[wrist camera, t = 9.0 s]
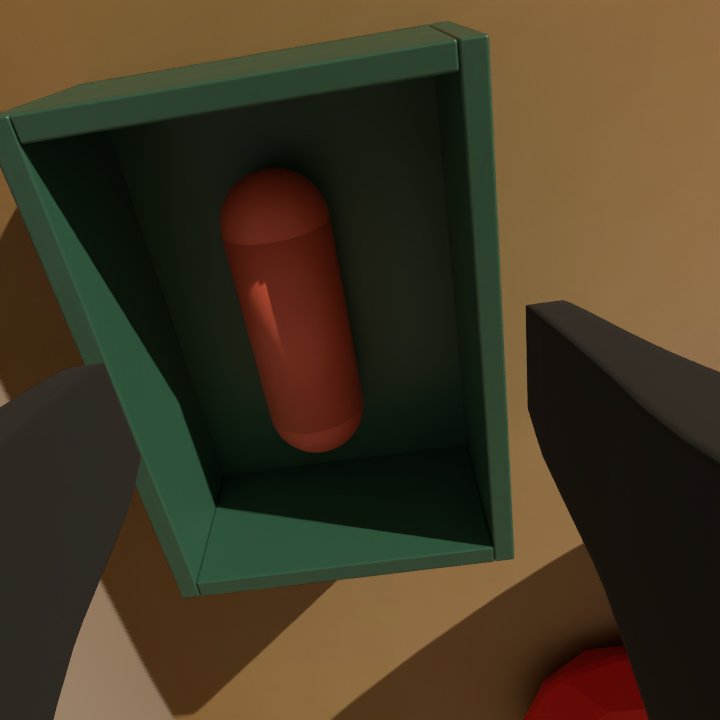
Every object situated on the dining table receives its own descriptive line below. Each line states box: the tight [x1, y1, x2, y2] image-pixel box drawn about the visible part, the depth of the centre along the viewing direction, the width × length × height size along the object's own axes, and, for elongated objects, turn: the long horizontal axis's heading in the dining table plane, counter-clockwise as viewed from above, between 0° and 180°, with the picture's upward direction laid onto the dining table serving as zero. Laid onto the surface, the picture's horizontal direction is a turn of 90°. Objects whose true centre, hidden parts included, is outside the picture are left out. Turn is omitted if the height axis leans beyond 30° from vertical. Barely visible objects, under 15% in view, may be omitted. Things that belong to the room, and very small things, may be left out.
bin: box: [0, 21, 514, 598], centre depth 19 cm, size 10×14×6 cm
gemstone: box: [523, 646, 648, 720], centre depth 30 cm, size 9×9×3 cm
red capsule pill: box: [220, 167, 364, 452], centre depth 19 cm, size 9×3×3 cm, turn 9°
